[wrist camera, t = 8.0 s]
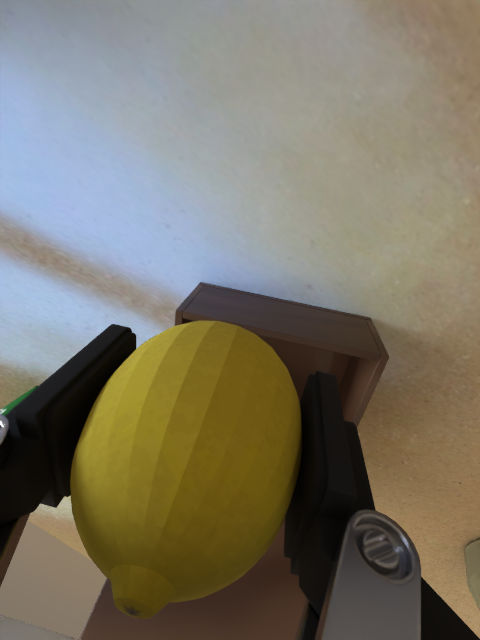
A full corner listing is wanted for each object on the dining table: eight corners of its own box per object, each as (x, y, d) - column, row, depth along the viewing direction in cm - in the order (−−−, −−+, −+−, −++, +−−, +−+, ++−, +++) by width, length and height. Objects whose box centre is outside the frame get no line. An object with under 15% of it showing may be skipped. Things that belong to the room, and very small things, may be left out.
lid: (49, 703, 16) (67, 716, 19) (352, 808, 15) (321, 806, 18) (165, 446, 30) (165, 478, 33) (331, 489, 28) (315, 518, 31)
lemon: (332, 345, 11) (393, 655, 4) (243, 425, 14) (185, 702, 7) (209, 252, 10) (20, 436, 3) (139, 355, 13) (-55, 584, 6)
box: (200, 282, 29) (175, 310, 23) (370, 317, 28) (389, 357, 22) (188, 401, 36) (167, 445, 30) (324, 434, 35) (329, 487, 29)
